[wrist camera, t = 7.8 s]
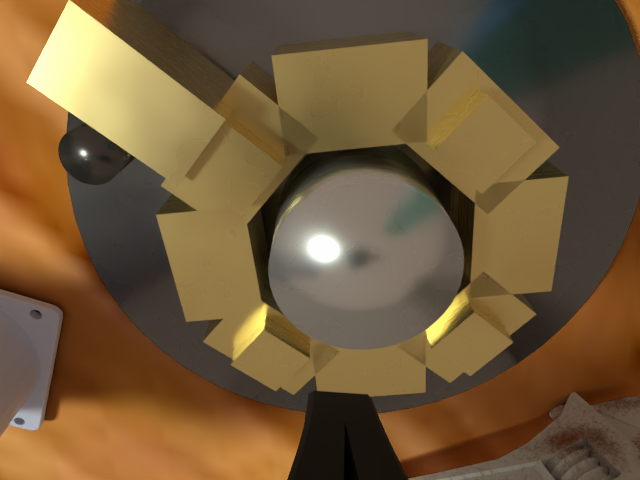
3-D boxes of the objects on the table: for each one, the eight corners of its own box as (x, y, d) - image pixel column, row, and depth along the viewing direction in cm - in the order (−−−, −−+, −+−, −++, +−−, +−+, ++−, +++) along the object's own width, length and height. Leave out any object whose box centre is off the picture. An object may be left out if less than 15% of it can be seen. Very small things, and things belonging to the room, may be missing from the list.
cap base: (39, 331, 22) (-33, 418, 17) (138, -294, 12) (39, -453, 8) (458, 450, 26) (488, 546, 21) (776, 43, 16) (948, 62, 12)
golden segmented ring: (368, 389, 22) (377, 468, 19) (29, 176, 18) (-48, 226, 14) (594, 194, 18) (667, 247, 14) (225, -167, 13) (188, -232, 9)
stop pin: (121, 127, 17) (54, 172, 13) (130, 85, 17) (62, 118, 12) (164, 143, 18) (113, 193, 13) (174, 102, 17) (124, 140, 13)
